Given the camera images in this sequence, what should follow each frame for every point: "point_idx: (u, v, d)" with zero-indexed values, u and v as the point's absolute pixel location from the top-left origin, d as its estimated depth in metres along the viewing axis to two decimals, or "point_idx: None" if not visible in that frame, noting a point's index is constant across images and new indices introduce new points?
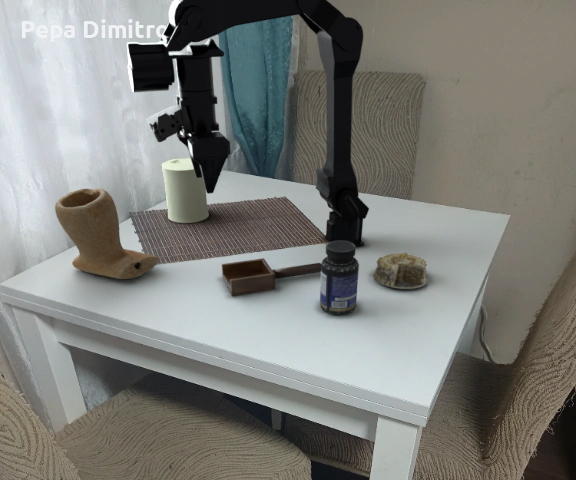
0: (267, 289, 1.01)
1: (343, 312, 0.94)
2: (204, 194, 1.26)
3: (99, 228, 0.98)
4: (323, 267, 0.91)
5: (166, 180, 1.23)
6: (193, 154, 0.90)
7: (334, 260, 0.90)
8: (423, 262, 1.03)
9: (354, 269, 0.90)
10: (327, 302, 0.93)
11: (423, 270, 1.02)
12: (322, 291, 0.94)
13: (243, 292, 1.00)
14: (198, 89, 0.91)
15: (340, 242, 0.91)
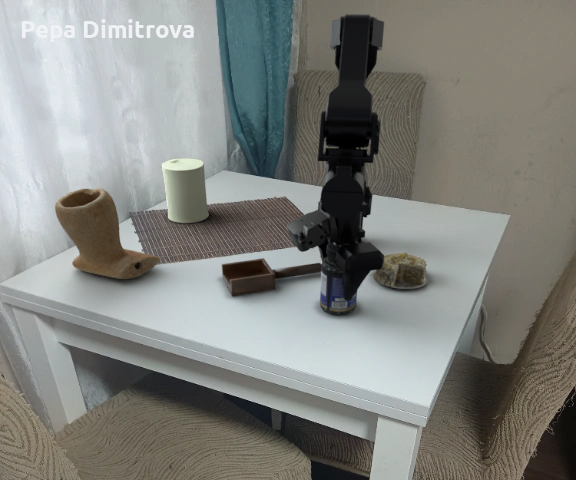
0: (267, 289, 1.01)
1: (343, 312, 0.94)
2: (204, 194, 1.26)
3: (99, 228, 0.98)
4: (324, 268, 0.91)
5: (166, 180, 1.23)
6: (345, 270, 0.82)
7: (335, 260, 0.89)
8: (423, 262, 1.03)
9: None
10: (328, 303, 0.93)
11: (423, 270, 1.02)
12: (322, 291, 0.93)
13: (243, 292, 1.00)
14: None
15: None
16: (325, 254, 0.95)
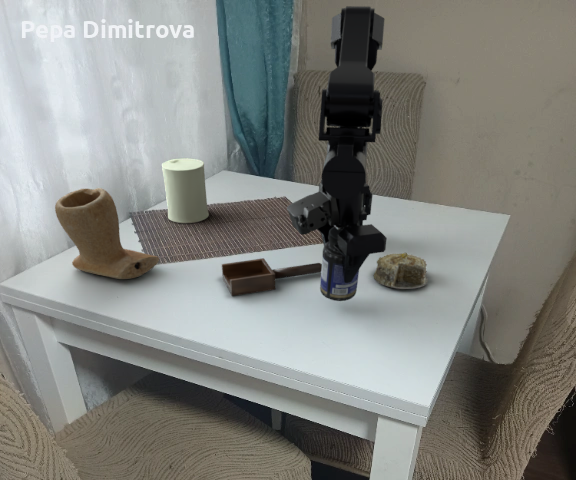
0: (267, 289, 1.01)
1: (343, 298, 0.93)
2: (204, 194, 1.26)
3: (99, 228, 0.98)
4: (325, 254, 0.89)
5: (166, 180, 1.23)
6: (347, 252, 0.81)
7: None
8: (423, 262, 1.03)
9: None
10: (328, 289, 0.92)
11: (423, 270, 1.02)
12: (323, 277, 0.92)
13: (243, 292, 1.00)
14: None
15: None
16: (327, 239, 0.93)
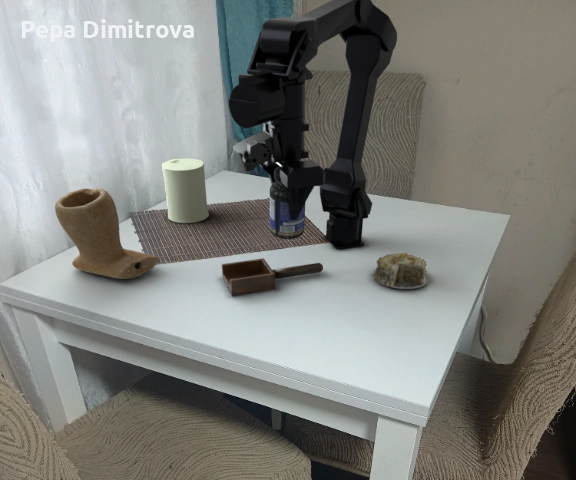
0: (267, 289, 1.01)
1: (291, 236, 0.98)
2: (204, 194, 1.26)
3: (99, 228, 0.98)
4: (271, 192, 0.94)
5: (166, 180, 1.23)
6: (288, 185, 0.86)
7: None
8: (423, 262, 1.03)
9: None
10: (276, 227, 0.98)
11: (423, 270, 1.02)
12: (271, 216, 0.97)
13: (243, 292, 1.00)
14: (300, 115, 0.87)
15: None
16: None
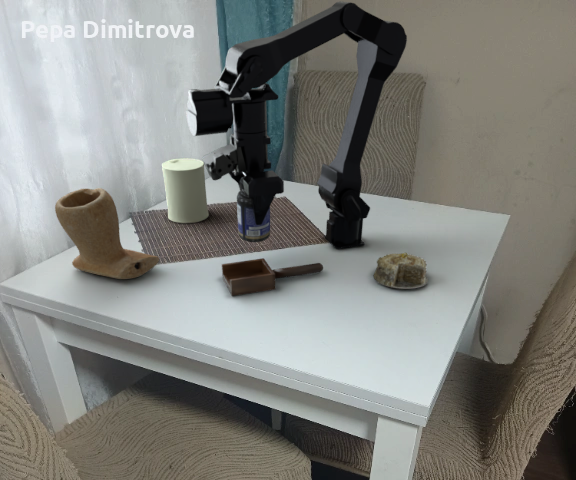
0: (267, 289, 1.01)
1: (256, 239, 1.07)
2: (204, 194, 1.26)
3: (99, 228, 0.98)
4: (238, 199, 1.03)
5: (166, 180, 1.23)
6: (249, 193, 0.95)
7: None
8: (423, 262, 1.03)
9: None
10: (243, 231, 1.06)
11: (423, 270, 1.02)
12: (238, 220, 1.06)
13: (243, 292, 1.00)
14: (255, 131, 0.95)
15: None
16: None
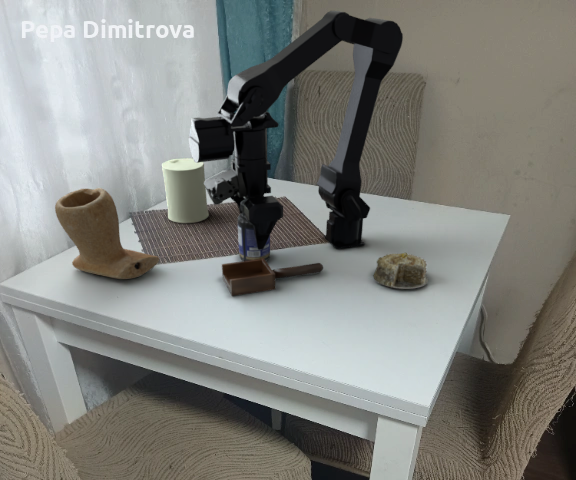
0: (267, 289, 1.01)
1: None
2: (204, 194, 1.26)
3: (99, 228, 0.98)
4: (238, 221, 1.07)
5: (166, 180, 1.23)
6: (249, 218, 0.98)
7: None
8: (423, 262, 1.03)
9: None
10: (244, 252, 1.09)
11: (423, 270, 1.02)
12: (239, 242, 1.09)
13: (243, 292, 1.00)
14: (255, 157, 0.98)
15: None
16: None
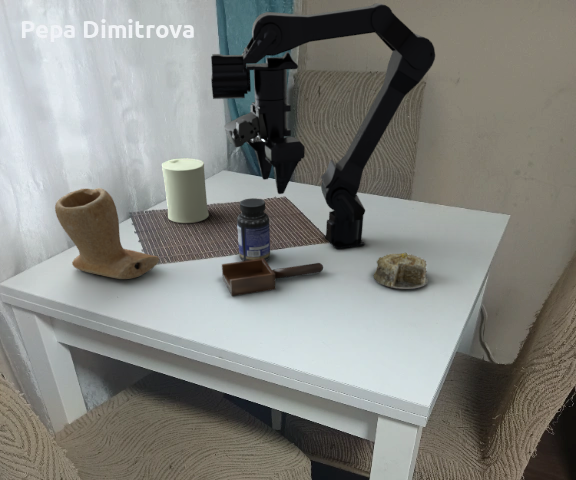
0: (267, 289, 1.01)
1: None
2: (204, 194, 1.26)
3: (99, 228, 0.98)
4: (238, 221, 1.07)
5: (166, 180, 1.23)
6: (271, 158, 0.98)
7: (246, 214, 1.05)
8: (423, 262, 1.03)
9: (264, 222, 1.06)
10: (244, 252, 1.09)
11: (423, 270, 1.02)
12: (239, 242, 1.09)
13: (243, 292, 1.00)
14: (270, 98, 0.99)
15: (252, 199, 1.07)
16: (260, 156, 1.11)
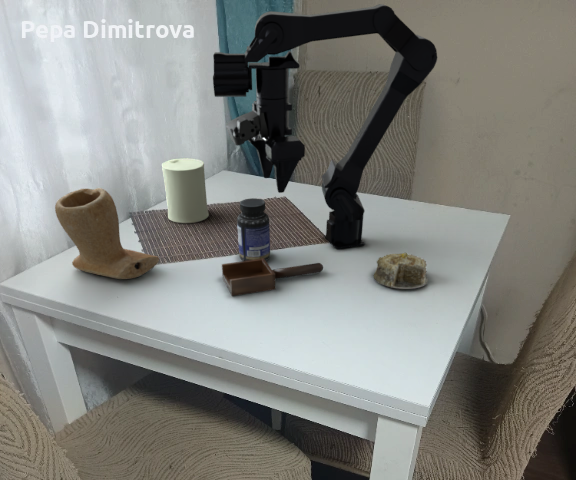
0: (267, 289, 1.01)
1: None
2: (204, 194, 1.26)
3: (99, 228, 0.98)
4: (238, 221, 1.07)
5: (166, 180, 1.23)
6: (272, 156, 0.99)
7: (246, 214, 1.05)
8: (423, 262, 1.03)
9: (264, 222, 1.06)
10: (244, 252, 1.09)
11: (423, 270, 1.02)
12: (239, 242, 1.09)
13: (243, 292, 1.00)
14: (271, 97, 0.99)
15: (252, 199, 1.07)
16: (261, 154, 1.12)
